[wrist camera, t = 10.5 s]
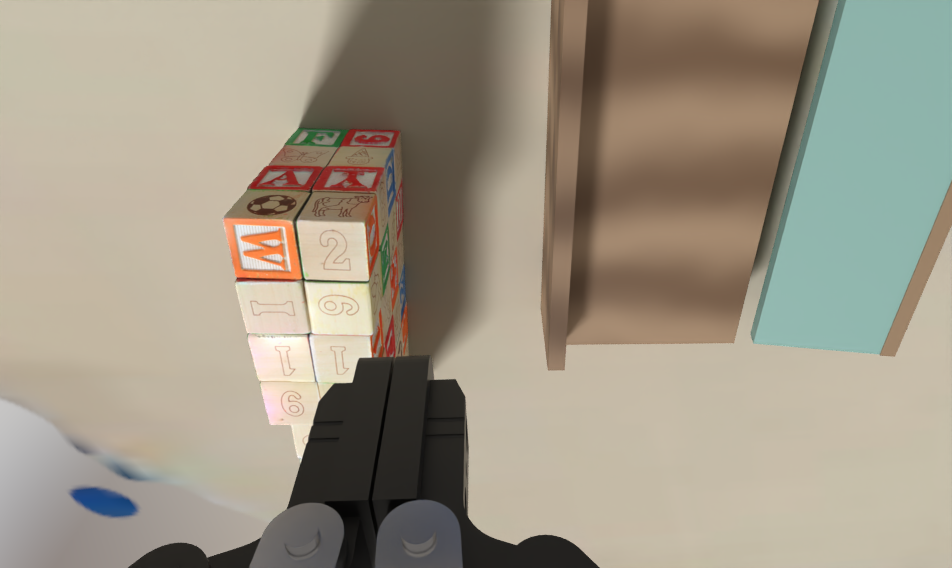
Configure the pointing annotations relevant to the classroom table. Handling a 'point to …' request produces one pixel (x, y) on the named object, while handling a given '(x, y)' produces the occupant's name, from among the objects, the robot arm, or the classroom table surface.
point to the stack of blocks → (320, 266)
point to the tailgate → (866, 183)
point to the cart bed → (661, 163)
